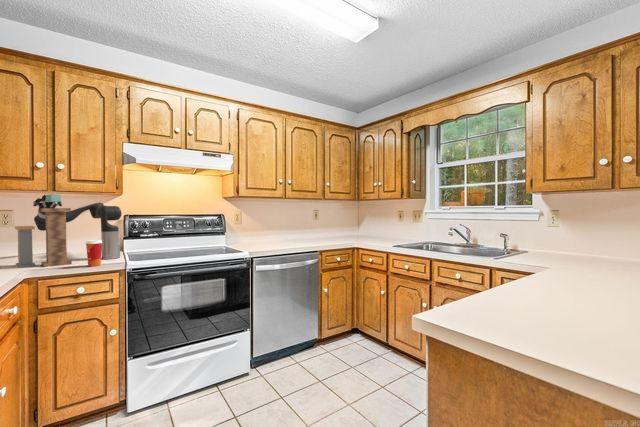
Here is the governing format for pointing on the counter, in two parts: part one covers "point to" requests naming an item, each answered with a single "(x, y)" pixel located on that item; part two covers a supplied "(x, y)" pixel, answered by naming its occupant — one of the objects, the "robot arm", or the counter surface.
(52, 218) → the stand
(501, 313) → the counter surface
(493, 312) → the counter surface
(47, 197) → the bar
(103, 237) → the robot arm
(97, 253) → the paper cup
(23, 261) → the ledge
